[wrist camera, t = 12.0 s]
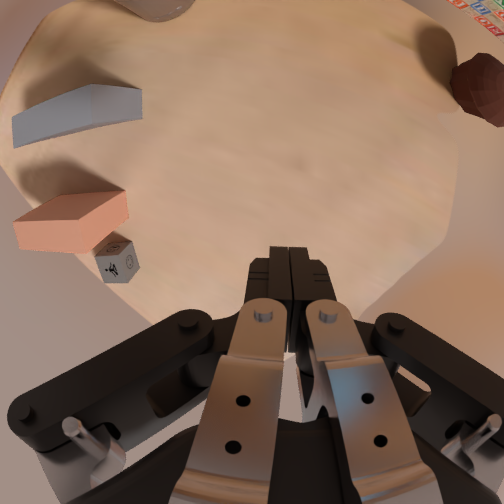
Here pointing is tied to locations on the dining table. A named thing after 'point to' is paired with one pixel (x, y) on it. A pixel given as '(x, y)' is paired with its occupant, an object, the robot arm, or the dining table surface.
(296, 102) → the dining table surface
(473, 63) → the muffin
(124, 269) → the dice cube
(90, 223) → the terracotta slab
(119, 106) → the slate slab
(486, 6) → the stack of blocks
